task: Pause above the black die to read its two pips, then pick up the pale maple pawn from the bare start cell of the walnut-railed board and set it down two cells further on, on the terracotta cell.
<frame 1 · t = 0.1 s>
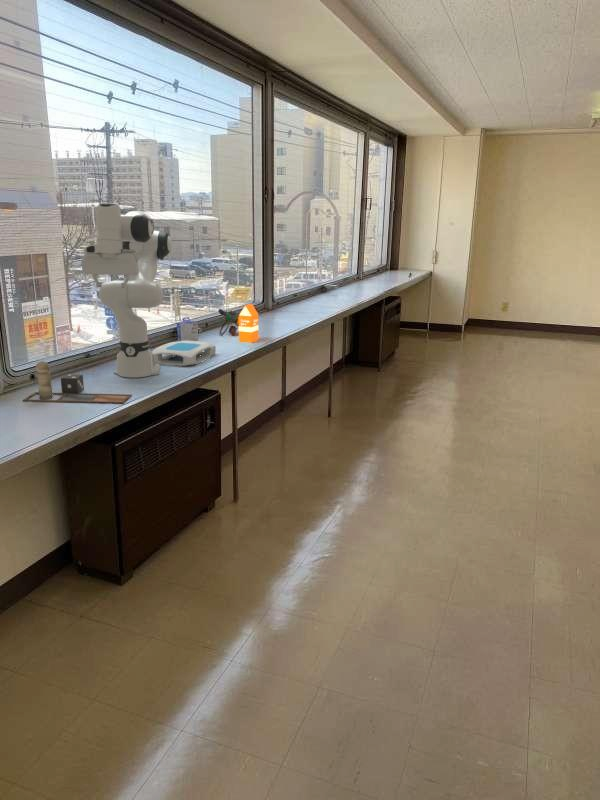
hand: (111, 287, 218), 39 cm above the table, tool pointing down, fingers open, 8 cm apart
orange juice: (248, 341, 323), on the table
die: (73, 391, 225), on the table
board: (78, 398, 217), on the table
white step stool: (183, 359, 280), on the table
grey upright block: (188, 345, 309), on the table
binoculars: (230, 335, 339), on the table
pawn: (46, 397, 217), resting in board
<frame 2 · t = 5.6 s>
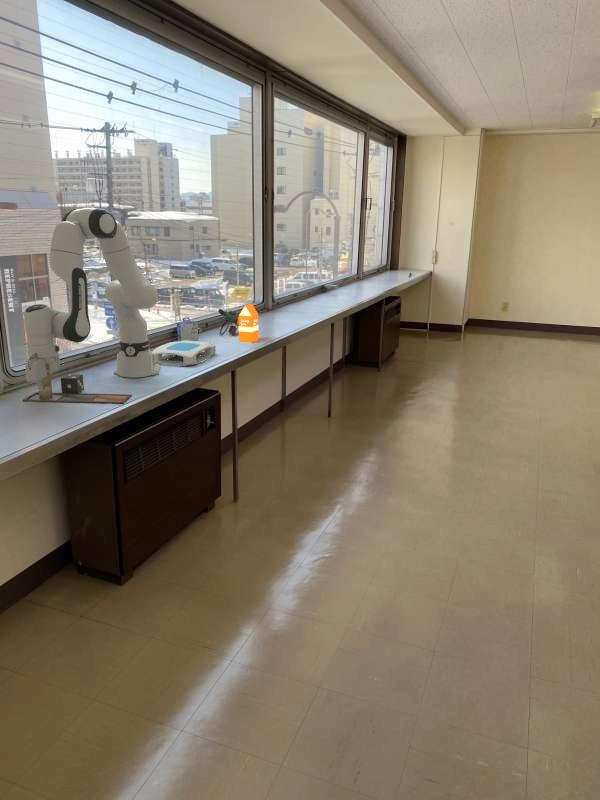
hand: (45, 388, 216), 4 cm above the table, tool pointing down, fingers closed on pawn, 4 cm apart
pawn: (46, 397, 217), resting in board, touching gripper
everything else where it was.
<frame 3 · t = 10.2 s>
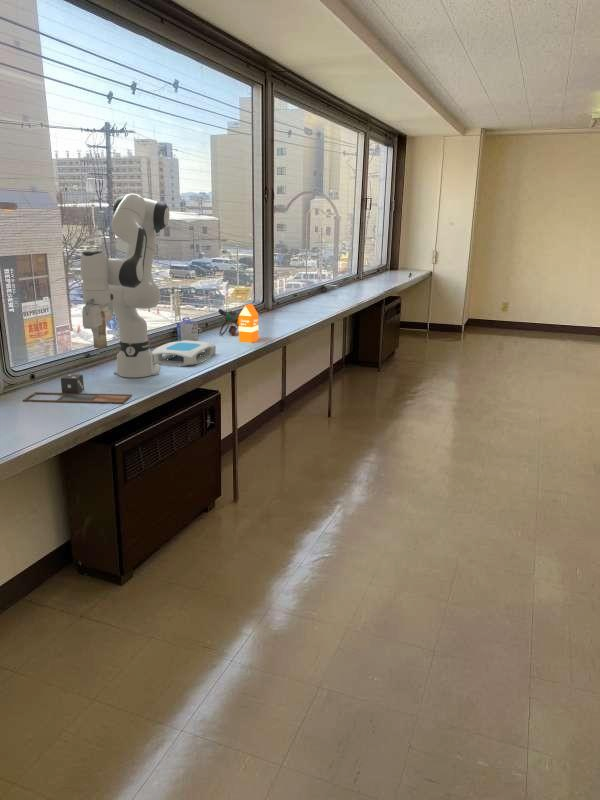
hand: (99, 337, 210), 23 cm above the table, tool pointing down, fingers closed on pawn, 4 cm apart
pawn: (100, 347, 211), point 19 cm above the table, touching gripper
everything else where it was.
when the fingers open (5 cm above the table, at t = 14.7 s): pawn drops 1 cm, resting on board.
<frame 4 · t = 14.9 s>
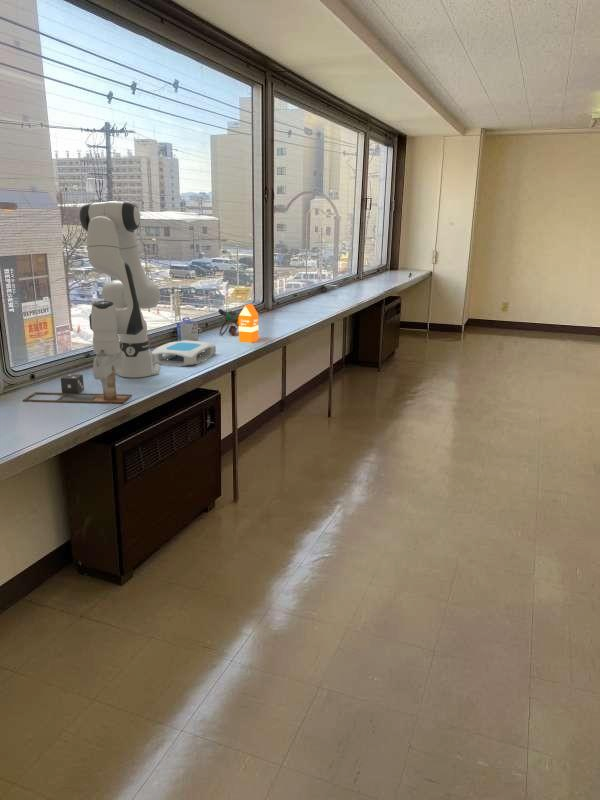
hand: (109, 385, 215), 5 cm above the table, tool pointing down, fingers open, 6 cm apart
pawn: (110, 398, 216), resting on board
everything else where it was.
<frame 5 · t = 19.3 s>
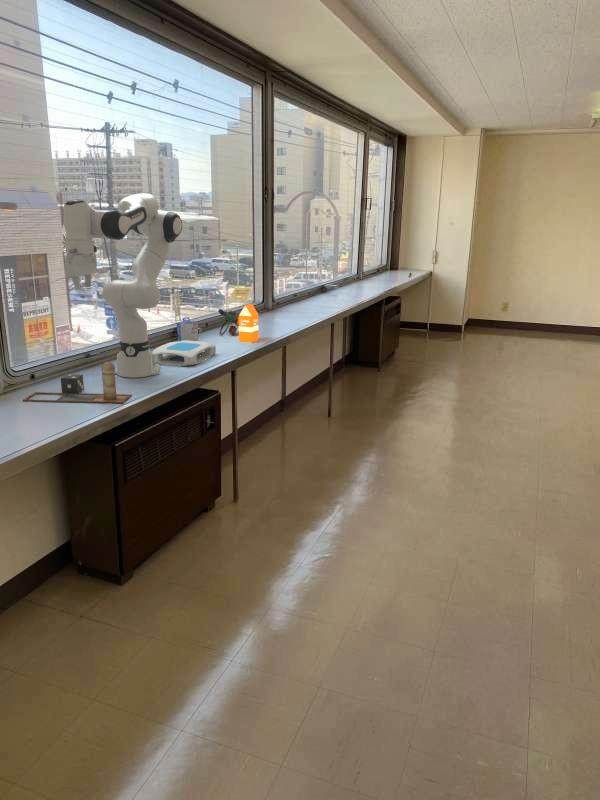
hand: (83, 288, 212), 39 cm above the table, tool pointing down, fingers open, 8 cm apart
nothing on the table moved.
at the end: pawn 0.1 cm from the target spot, resting on board; pawn tilted 1°; the gripper is holding nothing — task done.
